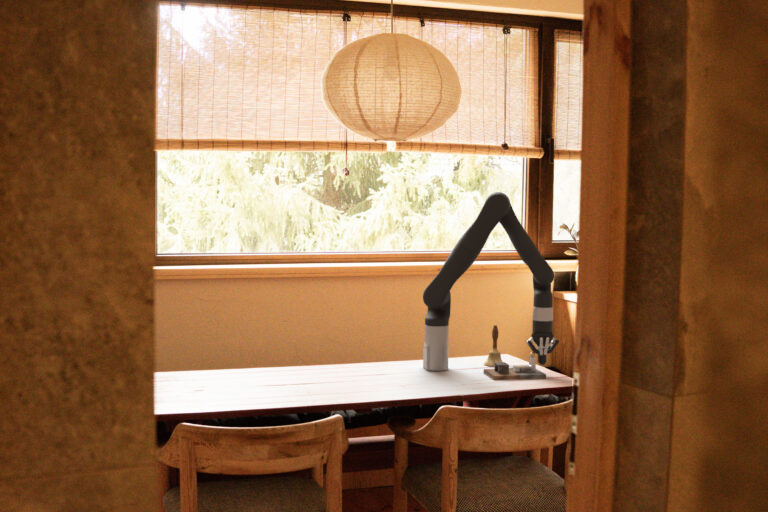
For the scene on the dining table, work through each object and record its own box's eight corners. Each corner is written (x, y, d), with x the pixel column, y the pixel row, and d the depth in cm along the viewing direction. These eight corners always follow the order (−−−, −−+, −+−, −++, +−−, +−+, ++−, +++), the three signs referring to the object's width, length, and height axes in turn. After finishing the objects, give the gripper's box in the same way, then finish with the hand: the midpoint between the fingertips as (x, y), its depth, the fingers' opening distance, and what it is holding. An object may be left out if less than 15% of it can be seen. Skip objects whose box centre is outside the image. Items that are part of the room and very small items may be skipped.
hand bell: (508, 364, 284) (508, 325, 283) (499, 367, 277) (500, 327, 276) (488, 362, 289) (489, 323, 288) (480, 365, 282) (481, 325, 281)
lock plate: (494, 380, 256) (494, 367, 256) (483, 373, 268) (483, 360, 267) (546, 378, 259) (546, 365, 259) (533, 371, 271) (533, 359, 271)
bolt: (515, 371, 262) (515, 352, 262) (512, 370, 265) (513, 351, 264) (536, 371, 264) (536, 352, 263) (533, 369, 266) (533, 351, 266)
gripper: (529, 320, 260) (529, 367, 260) (563, 319, 262) (562, 366, 263) (522, 317, 267) (521, 363, 268) (555, 317, 269) (554, 361, 270)
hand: (541, 364), depth 265 cm, fingers closed
